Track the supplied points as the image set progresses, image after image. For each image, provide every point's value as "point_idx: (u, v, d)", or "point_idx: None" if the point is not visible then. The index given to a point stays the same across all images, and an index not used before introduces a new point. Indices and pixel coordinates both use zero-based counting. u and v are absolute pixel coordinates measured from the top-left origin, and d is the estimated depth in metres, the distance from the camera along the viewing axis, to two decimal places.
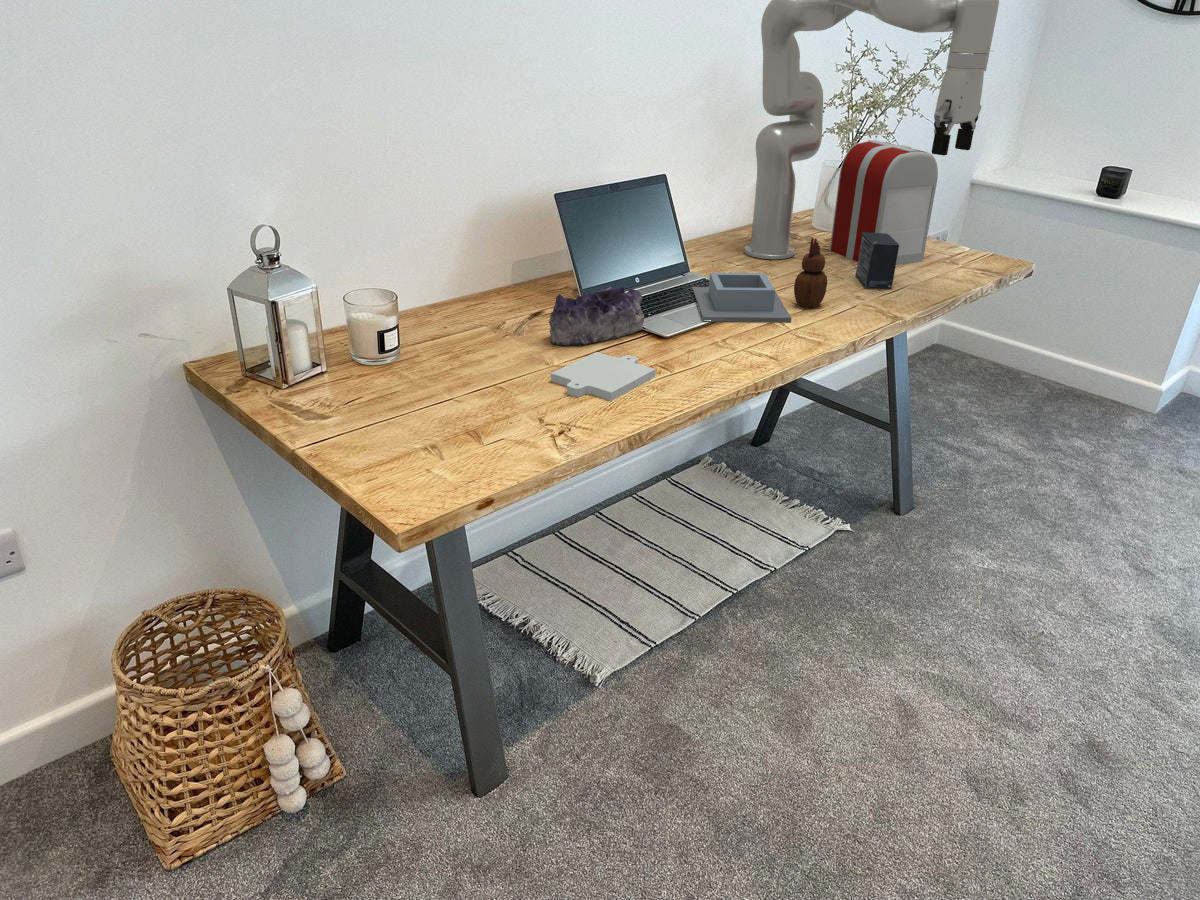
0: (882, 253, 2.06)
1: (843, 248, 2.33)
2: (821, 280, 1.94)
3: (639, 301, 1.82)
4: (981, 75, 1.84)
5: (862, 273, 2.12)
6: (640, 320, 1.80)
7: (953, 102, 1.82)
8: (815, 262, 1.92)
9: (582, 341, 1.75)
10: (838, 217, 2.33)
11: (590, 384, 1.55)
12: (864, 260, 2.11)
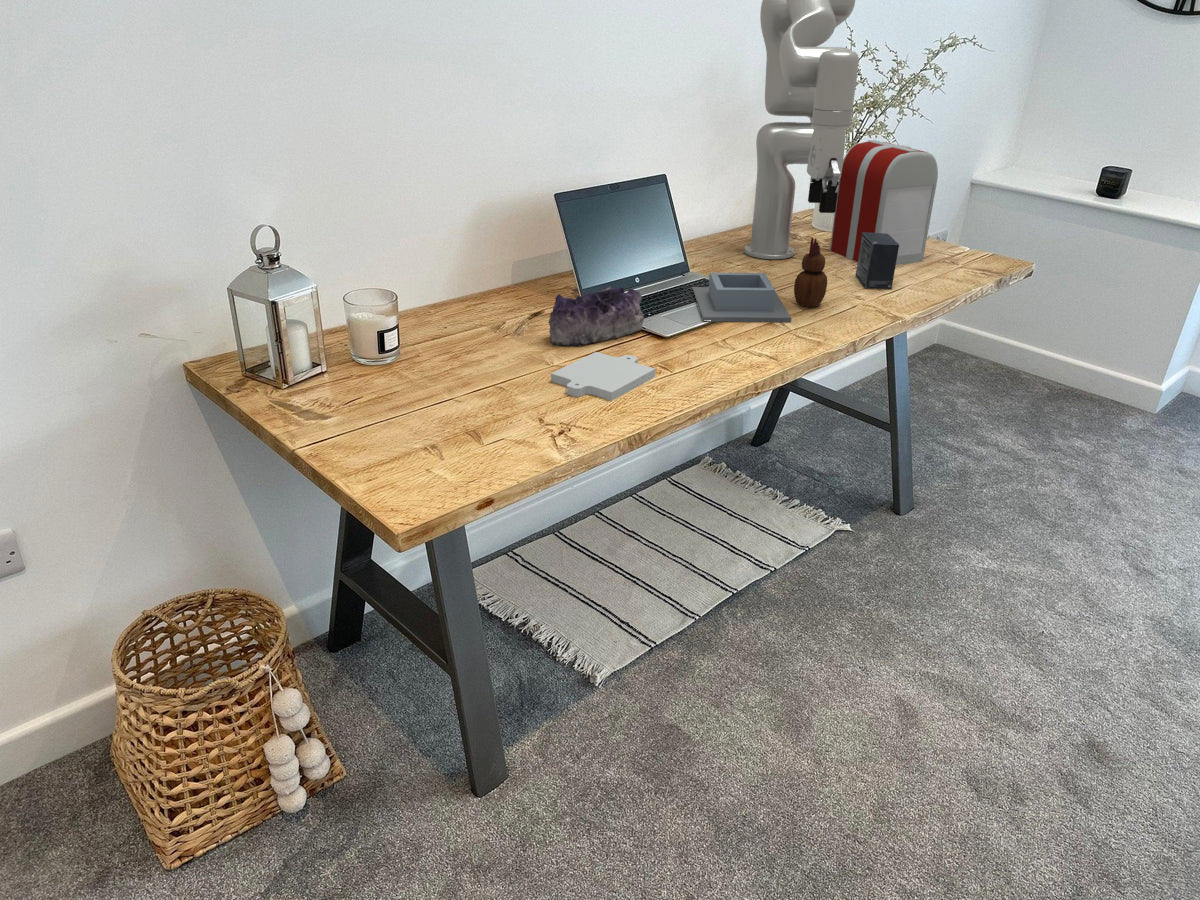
0: (882, 253, 2.06)
1: (843, 248, 2.33)
2: (821, 280, 1.94)
3: (639, 301, 1.82)
4: None
5: (862, 273, 2.12)
6: (640, 320, 1.80)
7: (839, 160, 1.80)
8: (815, 262, 1.92)
9: (582, 341, 1.75)
10: (838, 217, 2.33)
11: (590, 384, 1.55)
12: (864, 260, 2.11)
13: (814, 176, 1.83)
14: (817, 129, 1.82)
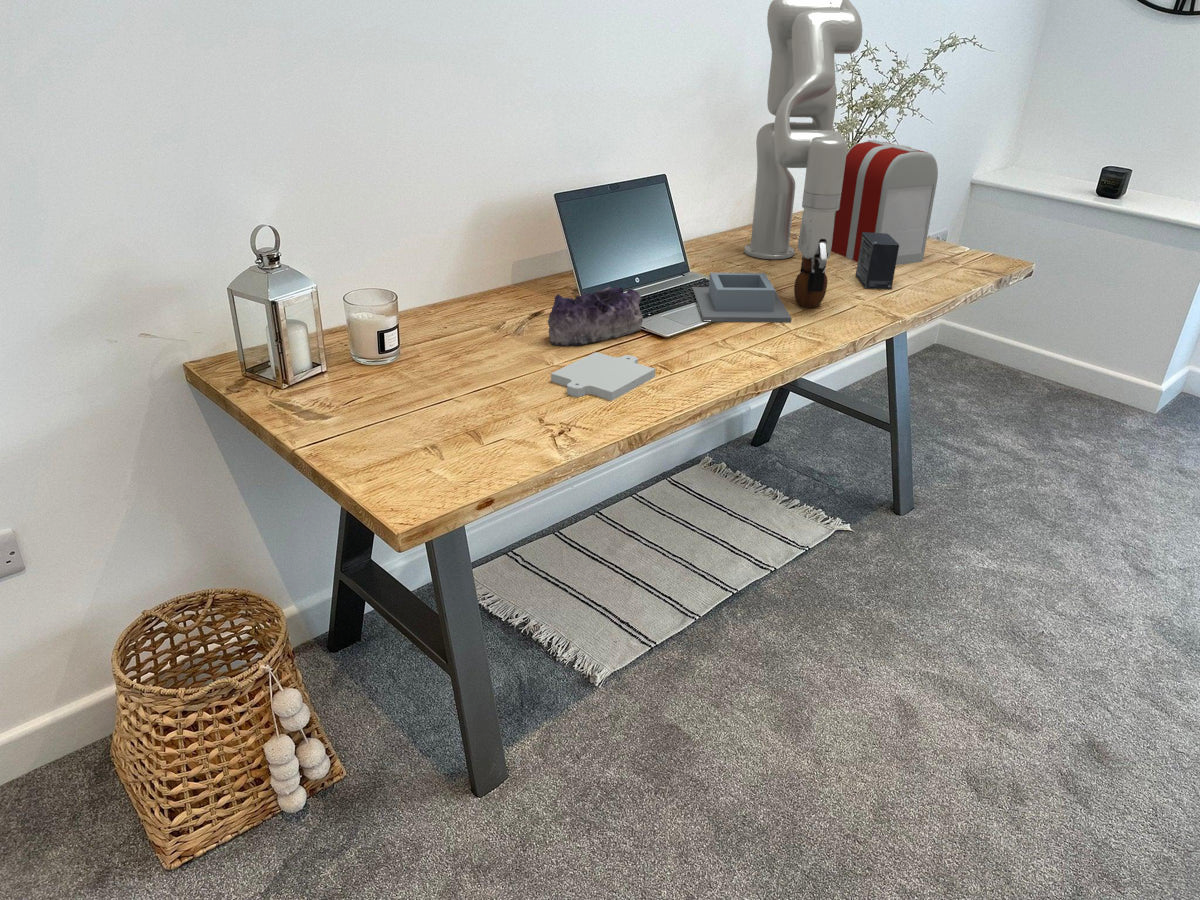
0: (882, 253, 2.06)
1: (843, 248, 2.33)
2: None
3: (638, 301, 1.82)
4: None
5: (862, 273, 2.12)
6: (639, 320, 1.80)
7: (828, 241, 1.87)
8: (815, 262, 1.92)
9: (581, 341, 1.75)
10: (838, 217, 2.33)
11: (590, 384, 1.55)
12: (864, 260, 2.11)
13: (804, 254, 1.91)
14: (807, 210, 1.89)
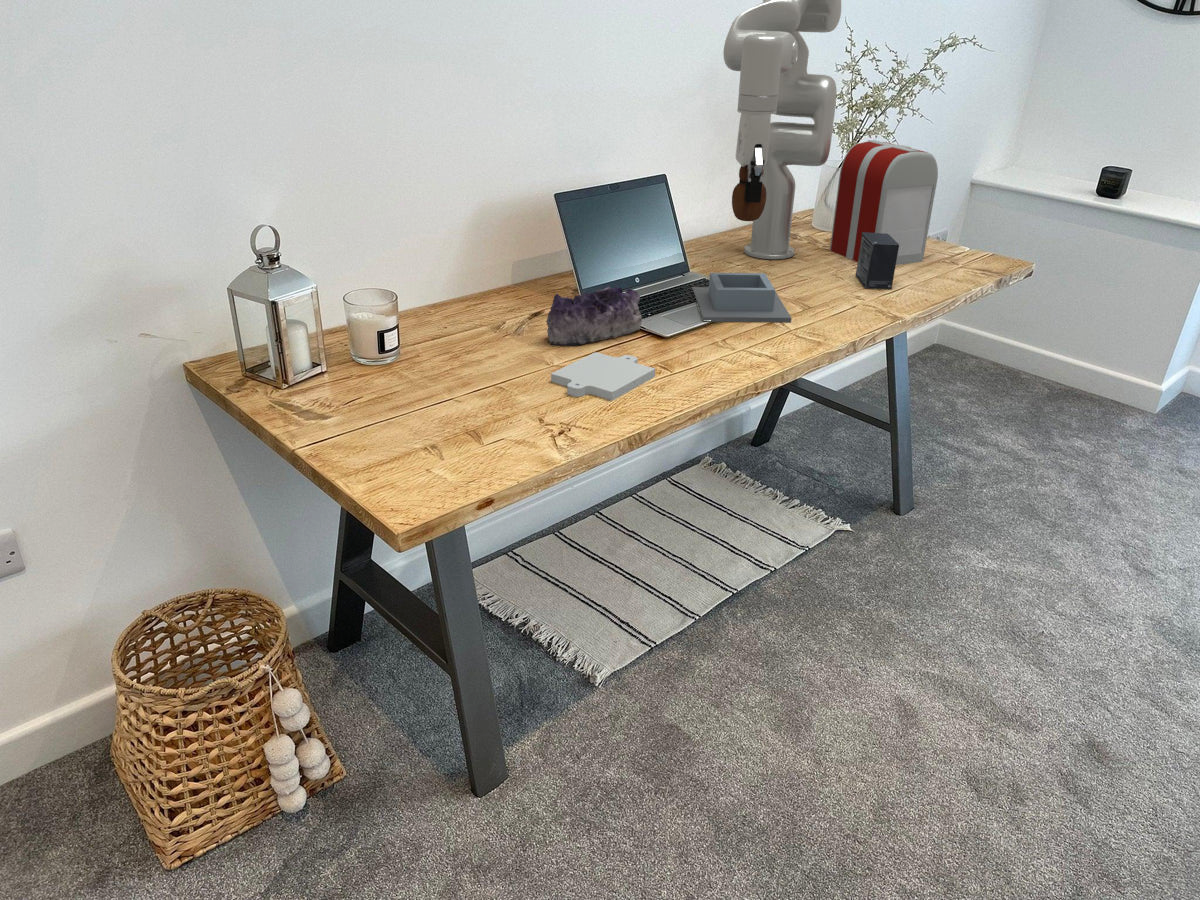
0: (882, 253, 2.06)
1: (843, 248, 2.33)
2: None
3: (637, 301, 1.82)
4: None
5: (862, 273, 2.12)
6: (638, 320, 1.80)
7: (764, 146, 1.78)
8: None
9: (579, 341, 1.75)
10: (838, 217, 2.33)
11: (591, 384, 1.55)
12: (864, 260, 2.11)
13: (740, 162, 1.81)
14: (743, 114, 1.79)
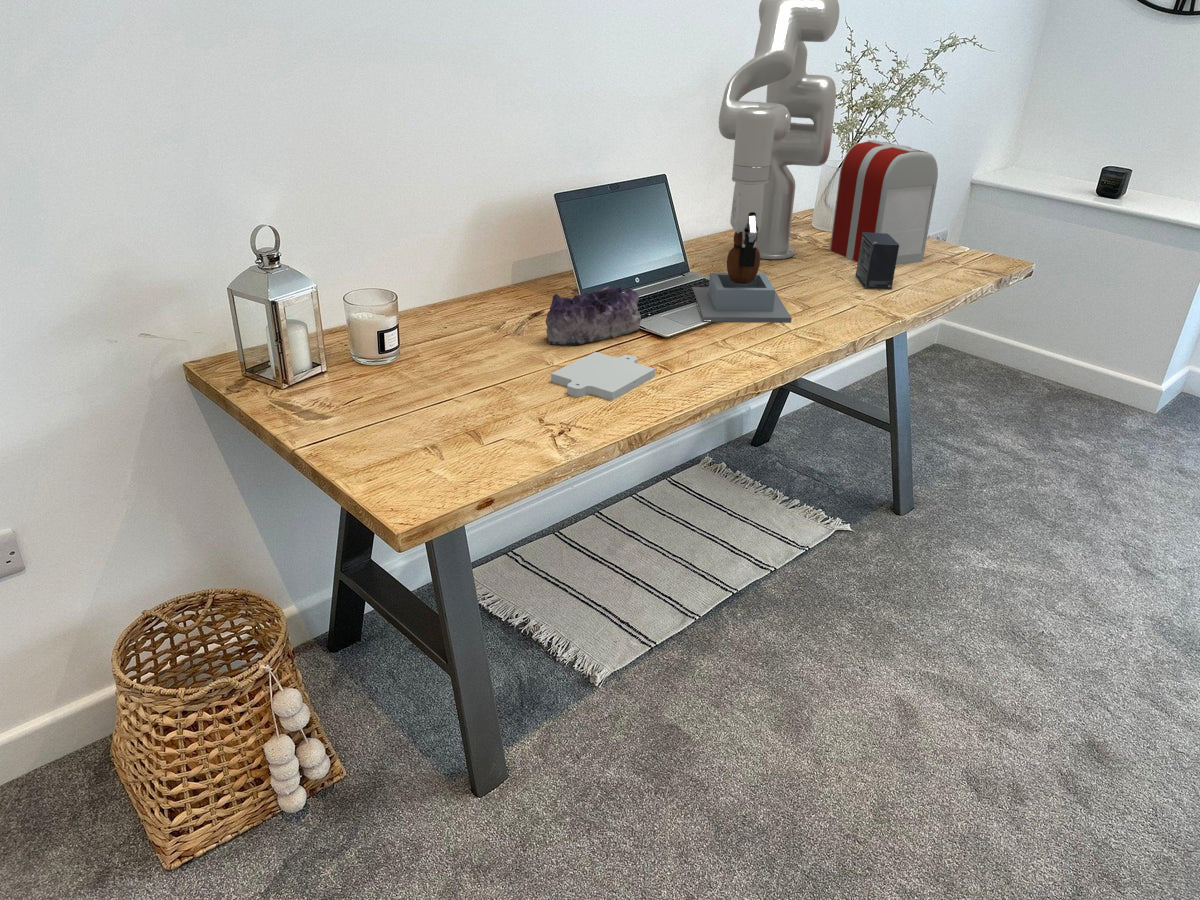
0: (882, 253, 2.06)
1: (843, 248, 2.33)
2: None
3: (636, 301, 1.82)
4: None
5: (862, 273, 2.12)
6: (637, 320, 1.80)
7: (757, 214, 1.84)
8: None
9: (578, 341, 1.75)
10: (838, 217, 2.33)
11: (591, 384, 1.55)
12: (864, 260, 2.11)
13: (735, 229, 1.87)
14: (737, 183, 1.85)
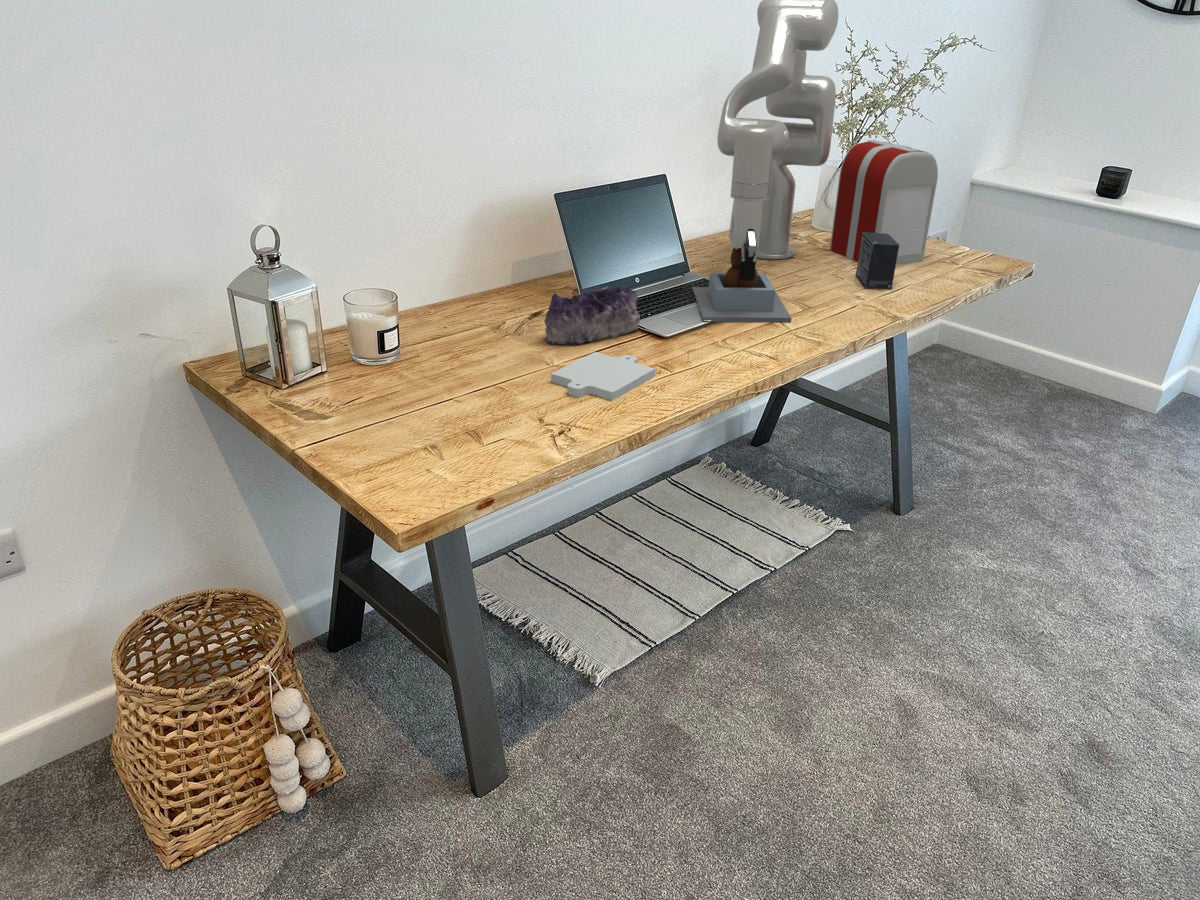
0: (882, 253, 2.06)
1: (843, 248, 2.33)
2: None
3: (635, 301, 1.82)
4: None
5: (862, 273, 2.12)
6: (636, 320, 1.81)
7: (756, 231, 1.85)
8: None
9: (577, 340, 1.75)
10: (838, 217, 2.33)
11: (591, 384, 1.55)
12: (864, 260, 2.11)
13: (733, 245, 1.89)
14: (736, 200, 1.87)
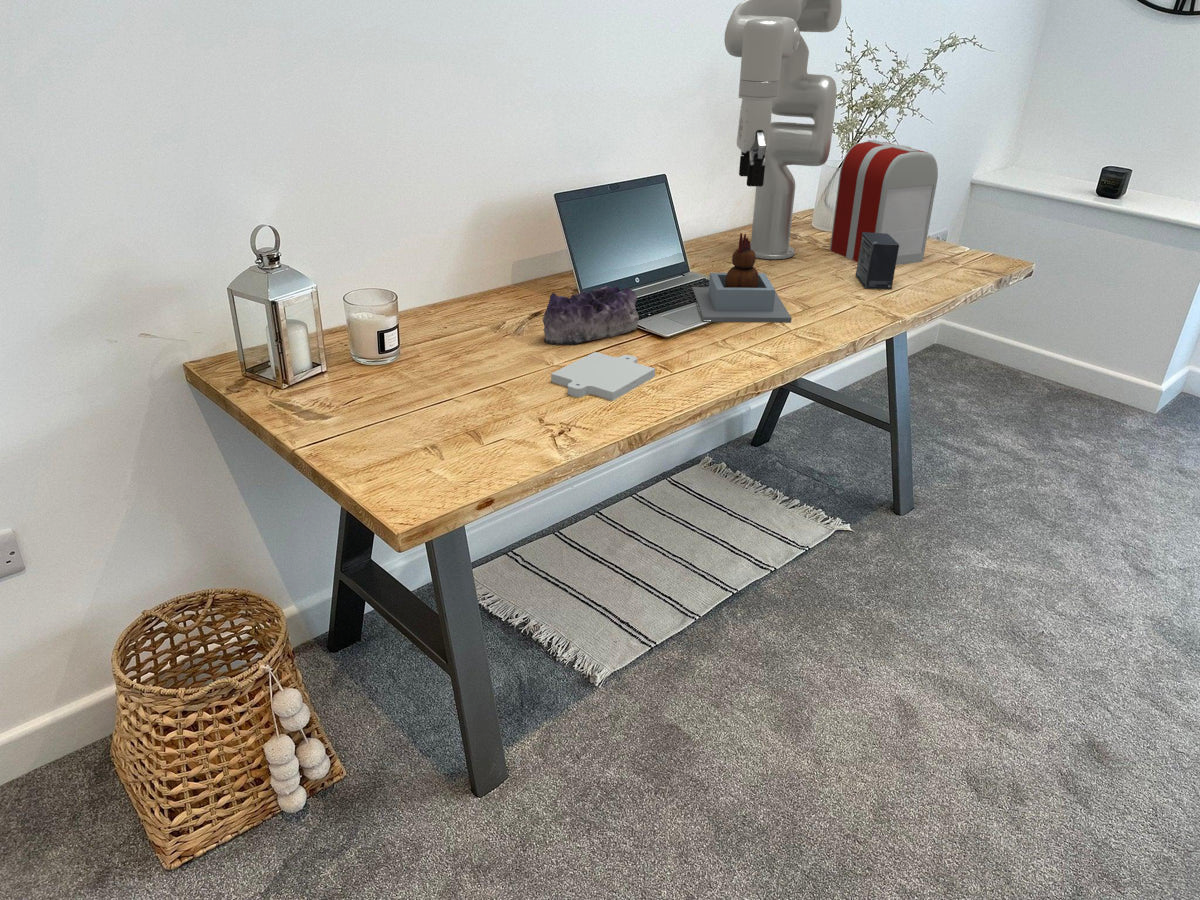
0: (882, 253, 2.06)
1: (843, 248, 2.33)
2: (751, 276, 1.92)
3: (634, 300, 1.82)
4: None
5: (862, 273, 2.12)
6: (634, 319, 1.81)
7: (765, 132, 1.77)
8: (744, 258, 1.91)
9: (575, 340, 1.75)
10: (838, 217, 2.33)
11: (591, 384, 1.55)
12: (864, 260, 2.11)
13: (741, 149, 1.80)
14: (744, 100, 1.78)
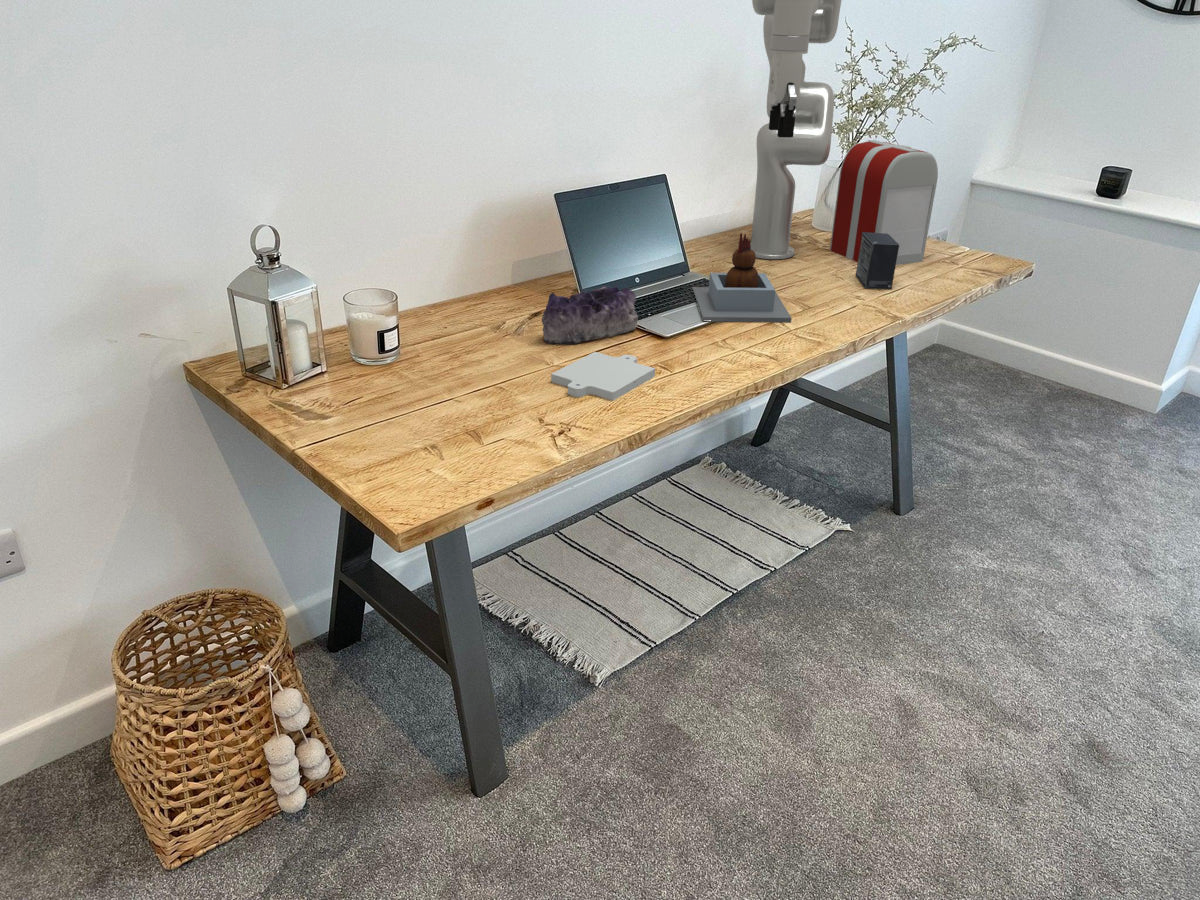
0: (882, 253, 2.06)
1: (843, 248, 2.33)
2: (751, 276, 1.92)
3: (633, 301, 1.82)
4: None
5: (862, 273, 2.12)
6: (633, 319, 1.81)
7: (796, 84, 1.86)
8: (744, 258, 1.91)
9: (574, 340, 1.75)
10: (838, 217, 2.33)
11: (591, 384, 1.55)
12: (864, 260, 2.11)
13: (773, 101, 1.89)
14: (775, 55, 1.87)
